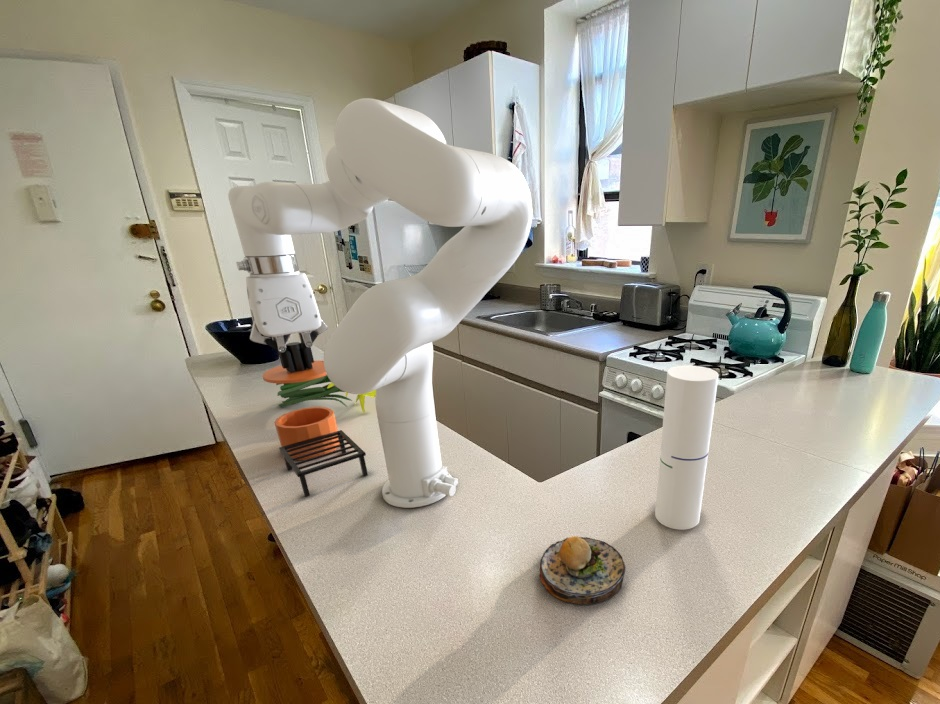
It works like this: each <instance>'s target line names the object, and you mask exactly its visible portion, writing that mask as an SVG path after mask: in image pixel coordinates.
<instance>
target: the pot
mask: <svg viewBox="0 0 940 704" xmlns="http://www.w3.org/2000/svg"><path fill="white" fill-rule="evenodd" d="M274 426H275V429H276V433H277V436H278V437H277V438H278V440H279V444H280V447H283V446H286V445H290V444H293V443H297V442H301V441H304V440H308V439H311V438H315V437H318V436H322V435H325V434H329V433H333V432H336V431H339V429H338V425H337V420H336V416H335V412H334V410H333V409H332V408H329V407H326V406H311V407H303V408H299V409H294V410H291V411H288V412H286V413H283V414H282V415H280V416H279V417H277V418H276V419H275V421H274ZM336 436H337V435H336ZM333 437H334V436H333ZM329 438H331V437H329ZM326 439H327V438H326ZM322 440H324V439H322ZM336 440H338V438H336V439H332V440H329V441H325V442H322V443H319V444H315V445H312V446H308V447H305V448H301V449H298V450H294V451H291V452H288V454H292V453H295V452H299V451H302V450H305V449H309V448H312V447H316V446H319V445H323V444H326V443H329V442H333V441H336ZM319 441H320V440H319ZM315 442H317V441H315ZM312 443H313V442H312ZM308 444H310V443H308ZM305 445H306V444H305ZM336 445H339V442H338V443H335V444H331V445H328V446H325V447H321V448H318V449H314V450H311V451H308V452H304V453H301V454H297V455H294V456H291V458H295V457H299V456H302V455H305V454H309V453H312V452H315V451H319V450H322V449H326V448H329V447H332V446H336ZM301 446H303V445H301ZM298 447H299V446H298ZM294 448H296V447H294ZM291 449H292V448H291ZM287 450H289V449H287ZM336 450H338V448H334V449H331V450H328V451H324V452H321V453H318V454H314V455H311V456H308V457H304V458H301V459H298V460H297V461H303V460H306V459H309V458H313V457H316V456H319V455H322V454H326V453H329V452H332V451H336Z"/></svg>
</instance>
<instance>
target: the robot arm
mask: <svg viewBox="0 0 940 704" xmlns="http://www.w3.org/2000/svg"><path fill="white" fill-rule="evenodd" d="M334 144H335V145H333V146H332V147H330V149H329V150H328V152H327V154H326V157H325V170H326V175H327V177H328V178H327V179H328V180H327V181H326V182H322V183H311V182H309V183H308V182H293V181H291V182H289V181H285V182H284V181H264V182H259V183H257V184H254V185H239V186H233V187H231V188H230V189H229V191H228V193H227V195H228V201H229V205H230V209H231V212H232V215H233V219H234V223H235V227H236V230H237V233H238V237H239V241H240V244H241V248H242V251H243V255H244V256H243V260H241V261H236V262H235V263H236V268H237V270H238V271H246V272H247V273H248V274H249V276H246V277H245V279H246V280H245V281H246V293H247V300H248V305H249V310H250V316H251V320H252V326H251V331H250V335H249V340H250V341H251V342H253V343H257V344H262V345H267V346H269V347H271V348H272V349H274V350H276V351H277V354H278V357H279V360H280V365H281V366H282V367H283V368H284V369H285V368H286V370H287V371H289V372H290V373H294V372H295V369H294V365H293V362H292V358H291V354H290V352H289V351H287V348H286V342H285V338H284V336H288V335H293V334H297V335H298V338H299V342H300V343H301V347H302V351H303V355H304V359H305V363H306V367H307V368H308V369H313V367H312V363H314V361H315V360H314V359H315V358H314V355H313V351H312V347H313V344H314V342H315V341H316V339H317V338H318V337H319V336H320V335H321V334H323V333H324V332H326V331H327V330H328V325H327V324H326V323H325V322H324V320H322V318H321V314H320V311H319V307H318V303H317V301H316V297H315V294H314V291H313V288H312V285H311V283H310V280H309V278H308V277H307V274H306V272H301V271H300V267H299V264H298V260H297V256H296V251H295V248H294V243H293V239H292V236H296V235H309V234H329V233H330V234H331V233H335V232H338V231H341V230H344V229H346V228H349V227H351V226H353V225H356V224H358V223H360V222H362V221H364V220H366V219H367V218H368V217H369V215H370V214H371V213H372V211H373V209H374V207H375V206H377V205H379V204H382V203H383V202H385V201H388V200H391V201H393V202H395V203H396V204H398V205H399V206H401V207H403V208H404V209H406V210H408V211H410V212H411V213H412V214H414V215H416V216H418V217H419V218H421V219H422V220H424V221H427V222H429V223H431V224H433V225H437V226H441V227H448V228H456V227H457V228H458V227H459V228H460V227H463V228H461V229H460V230H459V231H458V232H457V233H456V234H454V235H453V236H452V237H451V238H449V239H448V240H447V241H446V242H444V244H443V245H442V246H441V247H440V248H439V249H438V251H437V252H436V253H435V255H434V256H433V258H431V260H430V261H429V262H428V263H427V265H425V267H423V268H422V269H421V270H420V271H419V272H418V273H415V274H413V275H409V276H405V277H402V278H397V279H392V280H387V281H382V282H379V283H377V284H375V285H373V286H371V287H370V288H368V289H366V290H365V291H364V292H363V293H362V294H360V296H359V297H358V298H357V299H356V300H355V301H354V303H353V304H352V305H351V307H350V308H349V309H348V311H347V312H346V314H345V315H344V316H343V318H342V319H341V321H340V322H339V323H338V325H337V326H336V327H335V329H334V330H333V332H332V333H331V335H330V336H329V337H328V340H327V342H326V344H325V347H324V350H323V361H324V367H325V371H326V374H327V376H328V378H329V379H330V381H331V382H332V383H333V384H334V385H335V386H336V387H337V388H339V389H340V390H342V391H344V392H343V393H346V392H347V393H348V394H351V395H358V394H365V393H369V392H371V391H374V390H376V397H374V398H375V400H374V401H375V402H374V403H375V411H376V417H377V423H378V429H379V434H380V440H381V444H382V445H381V446H382V450H383V454H384V460H385V461H384V462H385V465H386V472H387V477H388V479H387V480H386V481H385V482H384V483H383V485H382V488H381V494H382V498H383V500H384V502H386V503H387V504H388V505H391V506H393V507H397V508H402V509H404V508H405V509H413V508H421V507H424V506H428V505H432V504H434V503H436V502H438V501H440V500H441V499H444V498H445V497H446V496H449V497H453V496H454V495H455V494H456V492H457V487H456V486H458V485H459V479H458V478H457V477H452V475H451V474H450V472H448V467H447V466H446V465H443V463H442V454H441V447H440V440H439V431H438V423H437V416H436V408H435V407H436V406H435V397H434V389H433V368H434V367H433V366H434V365H433V364H434V345H433V342H436V341H439V340H441V339H443V338H444V337H446V336H447V335H449V334H451V332H452V331H454V329H455V328H456V327H457V326H458V325H459V324H460V322H462V320H463V319H464V318H465V317H466V316H467V315H468V314H469V313H470V312H471V311H472V310H473V309H474V308H475V307H476V305H478V304H479V303H480V302H481V300H482V299H483V298H484V297H485V295H486V294H487V293H488V292H489V291H490V290H491V289H492V288H493V287H494V286H495V285H496V284H497V283H498V282H499V280H501V278H503V276H505V274H506V273H507V272H508V271H509V270H510V268H511V267H512V266H513V265H514V264H515V263H516V261H517V259H518V258H519V256H520V255H521V254H522V251H523V250H524V248H525V246H526V243H527V241H528V239H529V236H530V233H531V228H532V221H533V201H532V195H531V190H530V188H529V186H528V182H527V181H526V178H525V176H524V175H523V173H522V172H521V171H520V169H519V168H518V167H517V166H516V165H515V164H513V162H511V161H510V160H508V159H506V158H504V157H502V156H500V155H496V154H494V153H490V152H486V151H481V150H476V149H470V148H465V147H460V146H456V145H451V144H448V143H447V141H446V139H445V136H444V134H443V133H442V130H441V129H440V128H439V126H438V125H437V124H436V123H435V121H434V120H433V119H431V118H430V117H429V116H428V115H426V114H425V113H423V112H421V111H418V110H415V109H412V108H409V107H405V106H401V105H398V104H395V103H390V102H387V101H384V100H381V99H377V98H371V97H364V98H363V97H362V98H359V99H356V100H353V101H350V102H349V103H348V104H347V105H346V106H345V107H344V108H343V109H342V110H341V112H339V115H338V116H337V119H336V121H335V125H334ZM331 382H330V383H331Z"/></svg>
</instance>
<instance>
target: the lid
mask: <svg viewBox="0 0 940 704" xmlns="http://www.w3.org/2000/svg"><path fill="white" fill-rule="evenodd" d="M285 347H286V348H287V351H289V352H290V354H291V358H292V362H293V365H294V369H295V372H294V373H290V372H289V371H287V370H286V368H285V369H284V368H283V367H282V365H278V366H275V367H272V368H270V369H268V370H266V371H265V372H264V373H262V379H263V381H264V382H266V383H269V384H277V383H278V384H279V385H284V384H283V383H298V382H305V381H309V380H313V379H317V378H320V377H323V376H326V375H327V374H326V371H325V367H324V360H314V363H312V367H313V369H308V368H307V367H306V363H305V359H304V355H303V351H302V347H301V341H293V342H288V343H285Z"/></svg>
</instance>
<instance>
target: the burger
mask: <svg viewBox="0 0 940 704" xmlns="http://www.w3.org/2000/svg"><path fill="white" fill-rule="evenodd" d="M538 570H539V578H540V581H541V584H542V585H543V586H544V587H545V590H546V591H547V592H548V593H549V594H550V595H552V596H553V597H555V598H557V599H558V600H561V601H564V602H567V603H571V604H577V605H594V604H596V603H597V604H598V603H601V602H604V601H608V600H609V599H611V598H612V597H613V596H615V595H616V594H617V592H619V591H620V590H621V589H622V585H623V582H624V577H625V574H626V564H625V561H624V559H623V556H622V555H621V553H620V552H619V551H618V550H617V549H616V548H615V547H614V546H612V545H611V544H609V543H608V542H606V541H603V540H600V539H595V538H591V537H588V536H587V537H585V536H584V537H582V536H570V537H566V538H564V539H563V540H557V541H556V542H554V543H552V544H551V545H549V546H548V548H547V549H546V550H545V551H544V552H543V555H542V556H541V558H540V561H539V569H538Z"/></svg>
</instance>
